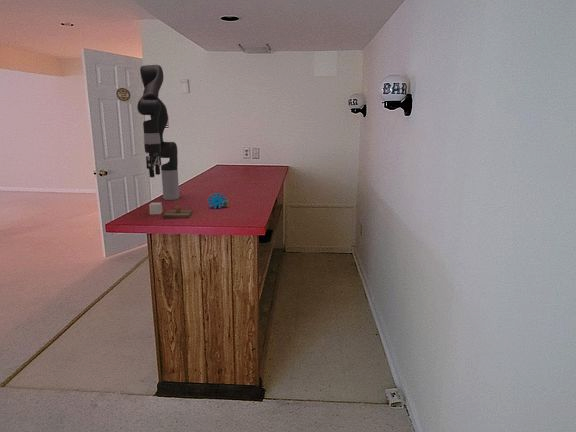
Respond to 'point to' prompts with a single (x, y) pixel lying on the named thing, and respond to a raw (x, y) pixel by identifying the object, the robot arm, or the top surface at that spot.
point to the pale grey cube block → (155, 208)
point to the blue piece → (217, 201)
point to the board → (178, 213)
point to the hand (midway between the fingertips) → (155, 175)
